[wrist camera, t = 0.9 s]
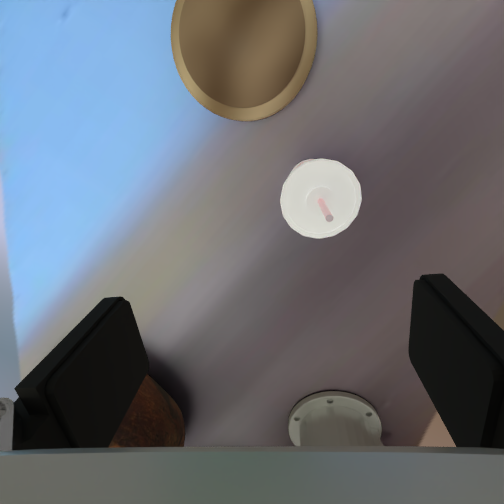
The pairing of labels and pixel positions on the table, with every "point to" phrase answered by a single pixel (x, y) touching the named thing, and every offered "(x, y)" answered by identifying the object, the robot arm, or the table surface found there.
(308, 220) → the beverage cup
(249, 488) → the robot arm
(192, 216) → the table surface
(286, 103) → the pedestal
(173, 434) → the brown vase
